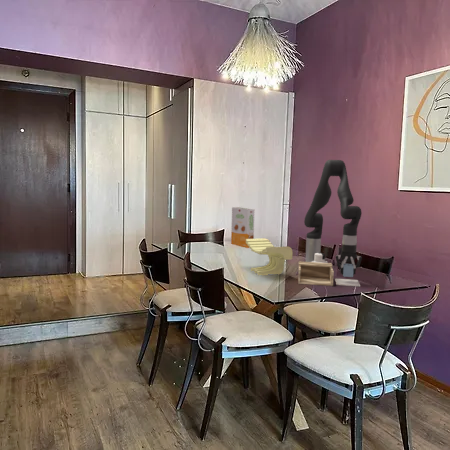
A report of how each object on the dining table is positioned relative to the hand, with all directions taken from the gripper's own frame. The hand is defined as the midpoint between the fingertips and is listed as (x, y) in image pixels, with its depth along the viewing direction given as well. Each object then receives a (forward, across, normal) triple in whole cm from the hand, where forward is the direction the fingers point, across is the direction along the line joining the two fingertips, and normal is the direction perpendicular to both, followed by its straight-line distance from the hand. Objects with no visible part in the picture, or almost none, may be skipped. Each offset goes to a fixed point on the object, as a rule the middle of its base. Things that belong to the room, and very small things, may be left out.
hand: (347, 274), depth 226 cm
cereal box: (+4, +71, -103) cm, 125 cm away
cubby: (+5, +17, -1) cm, 18 cm away
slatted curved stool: (+5, +44, -14) cm, 46 cm away
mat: (+5, 0, 0) cm, 5 cm away
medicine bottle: (+5, +14, -20) cm, 25 cm away
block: (+1, 0, 0) cm, 1 cm away
